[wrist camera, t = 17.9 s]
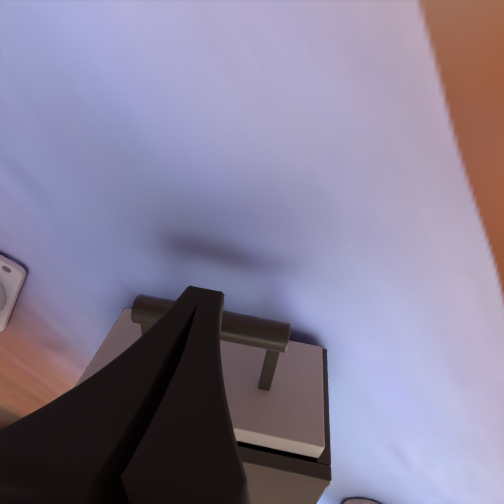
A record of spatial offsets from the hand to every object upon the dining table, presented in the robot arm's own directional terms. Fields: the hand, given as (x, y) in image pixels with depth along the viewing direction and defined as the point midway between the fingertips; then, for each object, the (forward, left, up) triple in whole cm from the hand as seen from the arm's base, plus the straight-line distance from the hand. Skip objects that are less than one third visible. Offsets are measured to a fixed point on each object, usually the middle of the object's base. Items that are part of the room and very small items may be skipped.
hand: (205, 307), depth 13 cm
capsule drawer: (+5, -8, -4) cm, 11 cm away
